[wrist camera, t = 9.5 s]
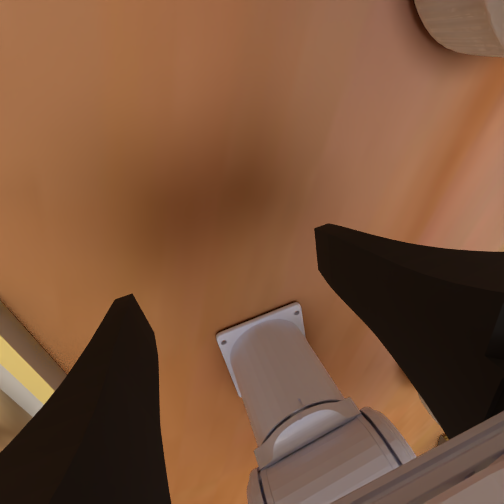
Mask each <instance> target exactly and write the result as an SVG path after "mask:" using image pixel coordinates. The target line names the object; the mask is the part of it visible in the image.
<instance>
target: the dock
mask: <svg viewBox="0 0 504 504" xmlns="http://www.w3.org/2000/svg"><path fill="white" fill-rule="evenodd" d="M66 376H67V374H66V373H65V372H64V371H63V370H62V369H61V368H60V367H59V365H58V364H57V363H56V362H55V361H54V360H53V359H52V358H51V356H50V355H49V354H48V353H47V352H46V351H45V350H44V349H43V348H42V346H41V345H40V344H39V343H38V342H37V341H36V340H35V339H34V337H33V336H32V335H31V334H30V333H29V332H28V331H27V330H26V328H25V327H24V326H23V325H22V324H21V323H20V322H19V321H18V320H17V318H16V317H15V316H14V315H13V314H12V313H11V312H10V311H9V309H8V308H7V307H6V306H5V305H4V304H3V303H2V302H1V301H0V389H1V390H2V391H3V392H5V393H6V394H7V395H8V396H9V397H10V398H11V399H13V400H14V401H15V402H16V403H17V404H18V405H19V406H21V407H22V408H23V409H24V410H25V411H26V412H27V413H29V414H30V415H31V416H32V417H34V415H35V414H36V413H37V412H38V411H39V410H40V409H41V408H42V406H43V405H44V404H45V403H46V402H47V400H48V399H49V398H50V397H51V395H52V394H53V393H54V392H55V390H56V389H57V388H58V387H59V385H60V384H61V383H62V381H63V380H64V379H65V377H66Z"/></svg>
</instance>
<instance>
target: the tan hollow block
mask: <svg viewBox="0 0 504 504" xmlns="http://www.w3.org/2000/svg"><path fill="white" fill-rule="evenodd" d="M32 418H33V417H32V416H31V415H30V414H29V413H27V412H26V411H25V410H24V409H23V408H22V407H21V406H19V405H18V404H17V403H16V402H15V401H14V400H13V399H11V398H10V397H9V396H8V395H7V394H6V393H5V392H3V391H2V390H1V389H0V452H1V451H2V450H3V449H4V448H5V447H6V446H7V445H8V444H9V443H10V442H11V441H12V440H13V439H14V438H15V437H16V435H17V434H18V433H19V432H20V431H21V430H22V429H23V428H24V427H25V425H26V424H27V423H28V422H29V421H30V420H31V419H32Z"/></svg>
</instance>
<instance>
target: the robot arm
mask: <svg viewBox="0 0 504 504" xmlns="http://www.w3.org/2000/svg"><path fill="white" fill-rule="evenodd" d="M314 230H315V240H316V251H317V261H318V270H319V271H320V273H321V274H322V276H323V277H324V279H325V280H326V281H327V283H328V284H329V285H330V287H331V288H332V289H333V290H334V291H335V292H336V293H337V295H338V296H339V297H340V298H341V299H342V300H343V301H344V302H345V303H346V304H347V305H348V306H349V307H350V308H351V309H352V310H353V311H354V312H355V313H356V314H357V315H358V316H359V317H360V319H361V320H362V321H363V322H364V323H365V324H366V325H367V326H368V327H369V328H370V329H371V330H372V331H373V333H374V334H375V335H376V336H377V337H378V339H379V340H380V341H381V342H382V344H383V345H384V346H385V348H386V349H387V350H388V351H389V353H390V354H391V355H392V357H393V358H394V359H395V361H396V362H397V363H398V365H399V366H400V368H401V369H402V370H403V372H404V373H405V374H406V376H407V377H408V378H409V380H410V381H411V383H412V384H413V386H414V387H415V389H416V390H417V391H418V393H419V394H420V396H421V397H422V399H423V400H424V402H425V403H426V404H427V406H428V407H429V409H430V411H431V412H432V414H433V415H434V417H435V418H436V420H437V421H438V423H439V424H440V426H441V427H442V429H443V431H444V432H445V434H446V435H447V437H448V439H449V440H448V441H446V442H444V443H442V444H441V445H439V446H437V447H435V448H433V449H431V450H429V451H427V452H426V453H424V454H422V455H420V456H418V457H416V455H415V453H414V452H413V450H412V449H411V448H410V446H409V445H408V443H407V442H406V440H405V439H404V438H403V436H402V435H401V434H400V432H399V431H398V430H397V429H396V427H395V426H394V425H393V424H392V423H391V422H390V420H389V419H388V418H387V417H386V416H384V415H383V414H382V413H380V412H378V411H376V410H373V409H371V408H370V407H364V408H362V409H361V410H359V409H358V408H357V406H356V405H355V403H354V402H353V400H352V399H351V398H350V397H348V398H346V399H345V398H344V396H343V395H342V393H341V392H340V390H339V389H338V387H337V386H336V384H335V383H334V381H333V380H332V378H331V377H330V375H329V374H328V372H327V370H326V369H325V367H324V366H323V364H322V363H321V361H320V360H319V358H318V357H317V355H316V354H315V352H314V351H313V349H312V348H311V346H310V344H309V343H308V341H307V340H306V337H305V330H304V323H303V317H302V310H301V306H300V304H299V303H298V302H295V303H292V304H289V305H287V306H284V307H282V308H279V309H277V310H274V311H272V312H269V313H267V314H264V315H262V316H259V317H257V318H254V319H252V320H249V321H247V322H244V323H242V324H239V325H237V326H234V327H232V328H229V329H227V330H224V331H222V332H219V333H218V334H217V335H216V339H217V342H218V345H219V347H220V350H221V352H222V355H223V357H224V360H225V362H226V365H227V367H228V370H229V372H230V375H231V377H232V380H233V383H234V385H235V388H236V390H237V393H238V395H239V397H242V399H243V402H244V405H245V408H246V411H247V414H248V417H249V420H250V424H251V427H252V430H253V433H254V436H255V439H256V442H257V445H258V448H256V449H255V450H254V453H255V456H256V460H257V463H258V466H259V467H257V468H255V469H253V470H252V471H251V473H250V478H249V482H248V486H247V499H248V504H504V252H485V251H468V250H455V249H445V248H437V247H430V246H423V245H416V244H411V243H406V242H401V241H396V240H392V239H387V238H383V237H379V236H375V235H371V234H367V233H364V232H360V231H357V230H353V229H349V228H346V227H342V226H338V225H333V224H325V225H323V226H320V227H317V228H314ZM296 311H297V312H296ZM224 340H225V341H224ZM222 341H223V342H222ZM0 504H171V499H170V493H169V487H168V480H167V473H166V466H165V460H164V452H163V444H162V437H161V427H160V405H159V365H158V353H157V346H156V340H155V335H154V331H153V330H152V328H151V326H150V324H149V323H148V321H147V319H146V317H145V315H144V314H143V312H142V310H141V308H140V306H139V305H138V303H137V301H136V299H135V297H134V296H133V294H129V295H127V296H124V297H121V298H118V299H115V301H114V302H113V304H112V305H111V307H110V309H109V310H108V312H107V314H106V316H105V317H104V319H103V321H102V322H101V324H100V326H99V327H98V329H97V331H96V332H95V334H94V336H93V337H92V339H91V341H90V342H89V344H88V345H87V347H86V348H85V350H84V351H83V353H82V354H81V356H80V357H79V359H78V360H77V362H76V363H75V365H74V366H73V368H72V369H71V371H70V372H69V373H68V375H67V376H66V377H65V379H64V380H63V381H62V383H61V384H60V385H59V387H58V388H57V389H56V390H55V392H54V393H53V394H52V395H51V397H50V398H49V399H48V400H47V402H46V403H45V404H44V405H43V406H42V408H41V409H40V410H39V411H38V412H37V413H36V414H35V415H34V417H33V418H32V419H31V420H30V421H29V422H28V423H27V424H26V425H25V427H24V428H23V429H22V430H21V431H20V432H19V433H18V434H17V435H16V437H15V438H14V439H13V440H12V441H11V442H10V443H9V444H8V445H7V446H6V447H5V448H4V449H3V450H2V451H1V452H0Z"/></svg>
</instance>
